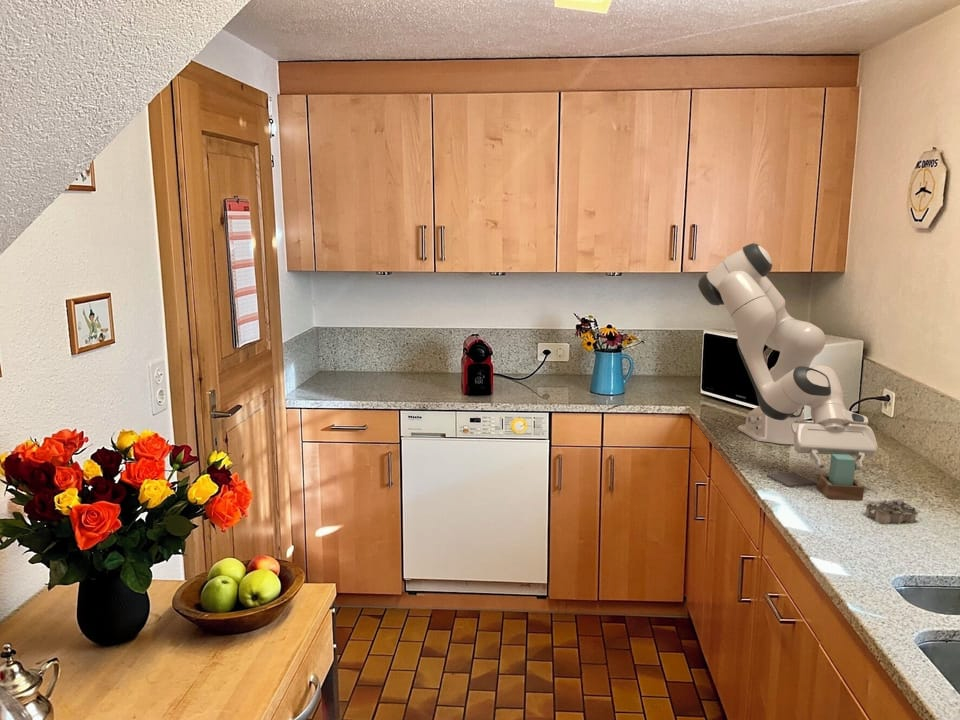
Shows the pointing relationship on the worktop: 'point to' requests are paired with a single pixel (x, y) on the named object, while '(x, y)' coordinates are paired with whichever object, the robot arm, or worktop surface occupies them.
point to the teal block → (841, 469)
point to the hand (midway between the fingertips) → (839, 468)
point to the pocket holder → (840, 489)
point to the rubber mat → (791, 479)
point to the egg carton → (890, 511)
